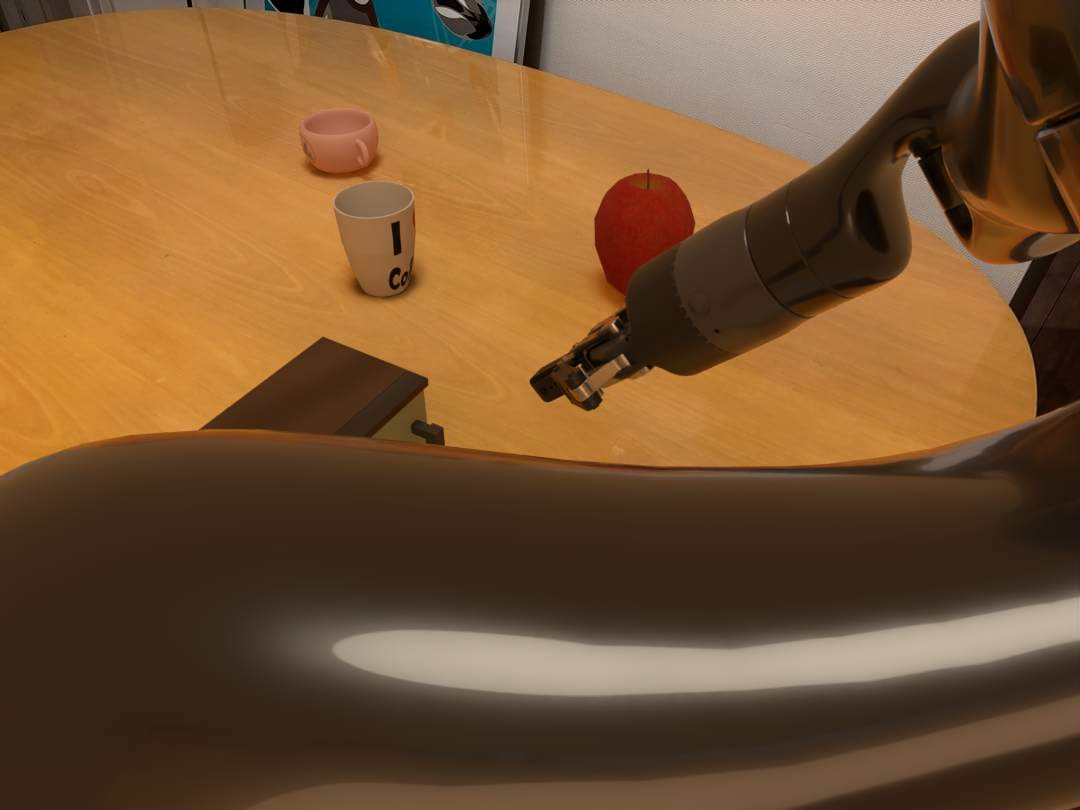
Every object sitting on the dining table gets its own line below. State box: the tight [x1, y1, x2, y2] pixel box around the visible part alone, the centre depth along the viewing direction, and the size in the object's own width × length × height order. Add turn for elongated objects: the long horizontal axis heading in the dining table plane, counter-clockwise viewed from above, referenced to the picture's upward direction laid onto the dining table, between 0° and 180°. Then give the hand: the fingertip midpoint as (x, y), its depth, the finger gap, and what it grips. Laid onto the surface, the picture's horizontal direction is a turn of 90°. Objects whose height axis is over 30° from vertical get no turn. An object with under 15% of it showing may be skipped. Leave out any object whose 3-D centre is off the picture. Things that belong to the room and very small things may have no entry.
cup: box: [332, 180, 417, 298], centre depth 92 cm, size 8×8×10 cm
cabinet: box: [198, 336, 429, 438], centre depth 63 cm, size 10×16×12 cm, turn 149°
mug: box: [298, 107, 379, 174], centre depth 115 cm, size 12×10×6 cm
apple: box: [593, 168, 696, 298], centre depth 90 cm, size 10×10×14 cm
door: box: [371, 389, 446, 446], centre depth 64 cm, size 3×8×10 cm, turn 149°
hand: (541, 386), depth 64 cm, fingers closed
